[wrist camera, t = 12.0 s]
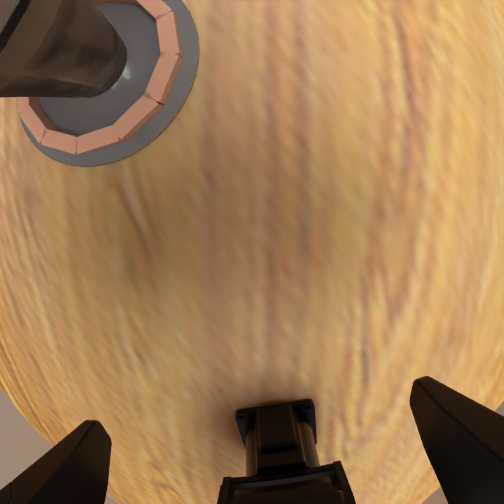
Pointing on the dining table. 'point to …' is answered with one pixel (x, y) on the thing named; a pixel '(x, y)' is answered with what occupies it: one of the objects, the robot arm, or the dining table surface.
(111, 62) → the beverage cup
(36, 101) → the cup holder
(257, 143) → the dining table surface
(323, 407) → the dining table surface
